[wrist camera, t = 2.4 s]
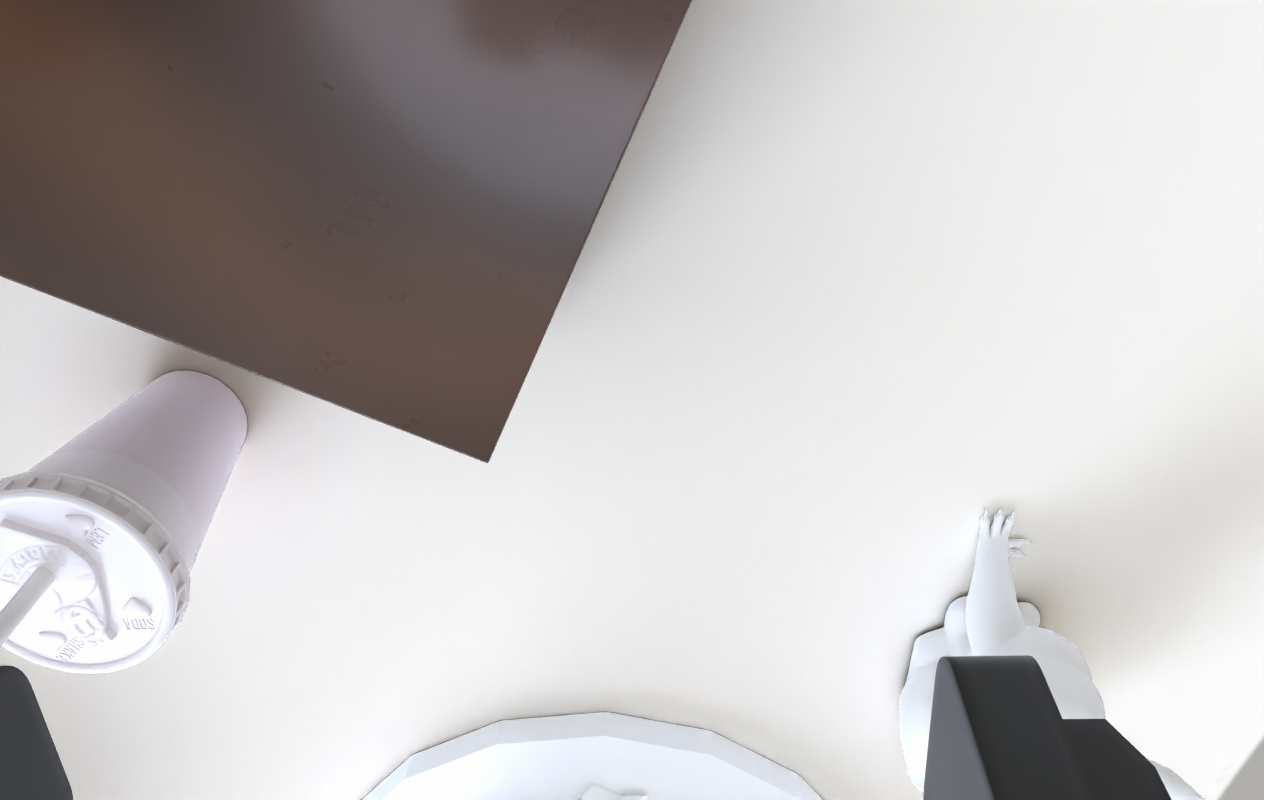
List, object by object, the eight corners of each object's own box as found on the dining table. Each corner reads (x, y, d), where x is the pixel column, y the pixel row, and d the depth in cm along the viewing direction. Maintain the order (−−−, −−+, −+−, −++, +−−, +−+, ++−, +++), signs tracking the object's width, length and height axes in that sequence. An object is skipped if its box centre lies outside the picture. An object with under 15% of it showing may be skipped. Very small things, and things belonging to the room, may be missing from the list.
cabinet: (200, -430, 28) (13, -526, 20) (738, -162, 30) (759, -154, 22) (84, 146, 34) (-88, 243, 27) (527, 327, 37) (487, 464, 29)
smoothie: (217, 306, 37) (-13, 555, 25) (320, 458, 40) (159, 752, 27) (65, 375, 38) (-226, 644, 26) (174, 518, 41) (-43, 823, 29)
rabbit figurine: (987, 499, 39) (1073, 690, 31) (1176, 558, 40) (1312, 759, 32) (850, 735, 45) (892, 953, 36) (1020, 782, 46) (1100, 1006, 37)
